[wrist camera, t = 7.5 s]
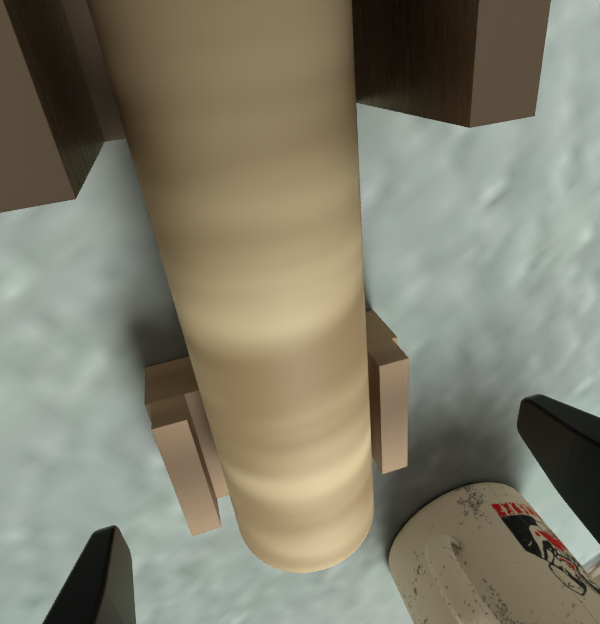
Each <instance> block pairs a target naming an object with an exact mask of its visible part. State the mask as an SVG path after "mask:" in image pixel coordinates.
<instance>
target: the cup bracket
mask: <svg viewBox="0 0 600 624" xmlns="http://www.w3.org/2000/svg"><path fill="white" fill-rule="evenodd" d="M550 2H551V0H352V19H353V42H354V65H355V87H356V103H360V104H365V105H369V106H374V107H378V108H383V109H387V110H392V111H396V112H401V113H405V114H410V115H414V116H419V117H423V118H428V119H433V120H437V121H442V122H446V123H451V124H455V125H460V126H464V127H469V128H471V127H477V126H482V125H488V124H493V123H499V122H504V121H510V120H515V119H521V118H526V117H532V116H535V110H536V103H537V95H538V88H539V81H540V74H541V67H542V60H543V52H544V45H545V38H546V31H547V24H548V17H549V10H550ZM124 138H126V135H125V132H124V128H123V125H122V121H121V118H120V114H119V111H118V107H117V104H116V101H115V97H114V94H113V90H112V87H111V83H110V80H109V76H108V73H107V69H106V66H105V63H104V59H103V56H102V52H101V49H100V45H99V42H98V38H97V35H96V31H95V28H94V25H93V21H92V18H91V14H90V11H89V7H88V4H87V0H0V213H1V212H6V211H12V210H17V209H23V208H29V207H34V206H40V205H45V204H51V203H56V202H62V201H67V200H73V199H76V197H77V195H78V193H79V191H80V190H81V188H82V186H83V184H84V182H85V180H86V178H87V176H88V174H89V172H90V170H91V168H92V166H93V164H94V162H95V160H96V158H97V156H98V154H99V152H100V150H101V148H102V146H103V144H104V142H105V141H111V140H117V139H124Z"/></svg>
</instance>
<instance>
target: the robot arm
mask: <svg viewBox="0 0 600 624" xmlns="http://www.w3.org/2000/svg"><path fill="white" fill-rule="evenodd" d="M517 429H518V432H519V434H520V436H521V437H522V439H523V440H524V442H525V443H526V445H527V446H528V448H529V449H530V451H531V452H532V454H533V456H534V457H535V459H536V460H537V462H538V463H539V465H540V466H541V468H542V469H543V471H544V472H545V474H546V475H547V477H548V478H549V480H550V481H551V483H552V484H553V486H554V487H555V488H556V490H557V491H558V493H559V494H560V495H561V497H562V498H563V499H564V501H565V502H566V503H567V504H568V506H569V507H570V508H571V509H572V511H573V512H574V513H575V514H576V516H577V517H578V518H579V519H580V520H581V522H582V523H583V524H584V525H585V527H586V528H587V529H588V530H589V532H590V533H591V534H592V535H593V537H594V538H595V539H596V540H597V542H598V543H599V544H600V418H599V417H597V416H594V415H592V414H589V413H587V412H584V411H582V410H579V409H577V408H574V407H572V406H569V405H567V404H564V403H562V402H559V401H557V400H554V399H552V398H549V397H547V396H544V395H540V394H537V395H533V396H530V397H526V398H524V399H523V400H522V401H521V403H520V409H519V414H518V420H517ZM42 624H136V617H135V602H134V587H133V571H132V559H131V553H130V550H129V548H128V546H127V544H126V542H125V540H124V538H123V536H122V534H121V532H120V530H119V528H118V527H117V526H115V525H112V526H109V527H106V528H103V529H99V530H97V531H95V532H94V533H93V534H92V535H91V537H90V539H89V540H88V542H87V544H86V546H85V548H84V549H83V551H82V553H81V555H80V557H79V558H78V560H77V562H76V564H75V566H74V567H73V569H72V571H71V573H70V575H69V576H68V578H67V580H66V582H65V584H64V586H63V587H62V589H61V591H60V593H59V595H58V596H57V598H56V600H55V602H54V604H53V605H52V607H51V609H50V611H49V613H48V614H47V616H46V618H45V620H44V622H43V623H42Z"/></svg>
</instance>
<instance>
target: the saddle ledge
mask: <svg viewBox="0 0 600 624" xmlns="http://www.w3.org/2000/svg"><path fill="white" fill-rule="evenodd" d="M365 314H366V337H367V360H368V382H369V405H370V428H371V450H372V457H373V458H374V460H375V462H376V464H377V465H378V467H379V469H380V471H381V473H382V474H385V473H388V472H391V471H394V470H398V469H401V468H404V467H407V453H408V372H409V358H408V357H407V356H406V355H405V353H404V352H403V351H402V350H401V349H400V348H399V346H398V345H397V336H396V335H395V334H394V333H393V332H392V331H391V330H390V329H389V327H388V326H387V325H386V324H385V323H384V322H383V321H382V320H381V318H380V317H379V316H378V315H377V314H376V313H375V312H374V311H373V310H371V311H367V312H365ZM145 407H146V409H147V412H148V415H149V417H150V420H151V423H152V432H153V435H154V437H155V440H156V442H157V445H158V448H159V450H160V453H161V456H162V458H163V461H164V463H165V466H166V469H167V471H168V474H169V477H170V479H171V482H172V485H173V487H174V490H175V492H176V495H177V498H178V500H179V503H180V506H181V508H182V511H183V513H184V516H185V519H186V521H187V524H188V527H189V529H190V532H191V534H192V536H195V535H198V534H201V533H204V532H207V531H210V530H213V529H216V528H219V527H221V522H220V515H219V509H218V502H217V498H220V497H223V496H227V495H229V491H228V488H227V484H226V481H225V477H224V474H223V470H222V467H221V464H220V460H219V457H218V453H217V450H216V446H215V443H214V439H213V436H212V432H211V429H210V425H209V422H208V419H207V415H206V412H205V408H204V405H203V401H202V398H201V394H200V391H199V387H198V384H197V381H196V377H195V374H194V370H193V367H192V363H191V360H190V356H188V357H184V358H180V359H176V360H172V361H168V362H164V363H160V364H157V365H153V366H149V367H145Z"/></svg>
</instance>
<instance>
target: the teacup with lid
mask: <svg viewBox="0 0 600 624" xmlns="http://www.w3.org/2000/svg"><path fill="white" fill-rule="evenodd" d="M389 569H390V573H391V575H392V578H393V580H394V582H395V584H396V586H397V588H398V590H399V593H400V595H401V597H402V599H403V601H404V603H405V605H406V607H407V610H408V612H409V614H410V616H411V618H412V620H413V622H414V624H600V587H599V586H598V584H597V583H596V582H595V581H594V580H593V579H592V577H591V576H590V575H589V574H588V573H587V572H586V570H585V569H584V568H583V567H582V566H581V564H580V563H579V562H578V561H577V560H576V559H575V557H574V556H573V555H572V554H571V553H570V552H569V550H568V549H567V548H566V547H565V546H564V545H563V543H562V542H561V541H560V540H559V539H558V537H557V536H556V535H555V534H554V533H553V532H552V530H551V529H550V528H549V527H548V526H547V525H546V523H545V522H544V521H543V520H542V519H541V517H540V516H539V515H538V514H537V513H536V512H535V510H534V509H533V508H532V507H531V506H530V505H529V503H528V502H527V501H526V500H525V499H524V498H523V496H522V495H521V494H520V493H519V492H518V491H517V490H515V489H514V488H512V487H510V486H508V485H505V484H501V483H495V482H483V483H476V484H471V485H467V486H463V487H460V488H457V489H455V490H452V491H450V492H448V493H446V494H444V495H442V496H440V497H438V498H437V499H435V500H433V501H432V502H430V503H429V504H427V505H426V506H425V507H423V508H422V509H421V510H419V511H418V512H417V513H416V514H415V515H414V516H413V517H412V518H411V519H410V520H409V521H408V522H407V523H406V524H405V525H404V527H403V528H402V529H401V531H400V532H399V533H398V535H397V537H396V538H395V540H394V542H393V545H392V547H391V550H390V555H389Z"/></svg>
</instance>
